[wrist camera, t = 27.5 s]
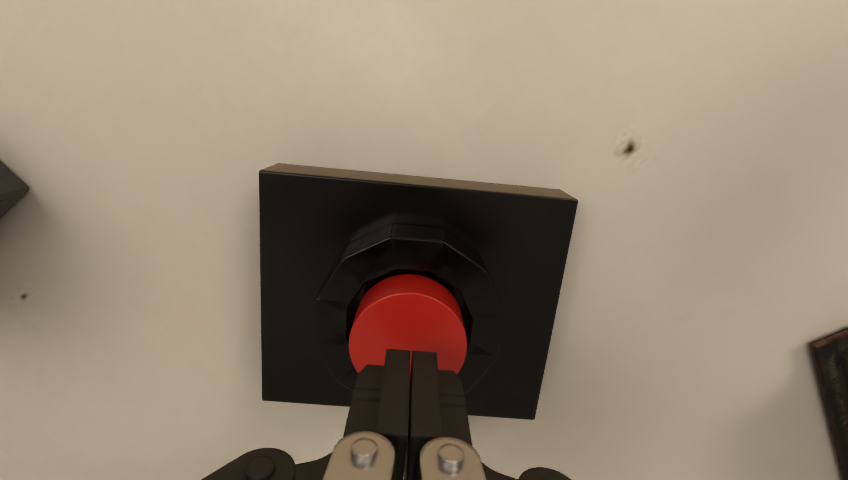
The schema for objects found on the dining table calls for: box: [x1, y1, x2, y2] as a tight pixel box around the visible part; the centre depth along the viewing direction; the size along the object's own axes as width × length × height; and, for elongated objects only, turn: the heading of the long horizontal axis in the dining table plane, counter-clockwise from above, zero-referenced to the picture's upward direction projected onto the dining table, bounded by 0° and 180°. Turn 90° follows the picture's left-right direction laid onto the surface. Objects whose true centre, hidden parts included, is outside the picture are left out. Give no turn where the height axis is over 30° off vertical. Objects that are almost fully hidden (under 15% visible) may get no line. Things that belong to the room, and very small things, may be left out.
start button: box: [349, 274, 467, 375], centre depth 16 cm, size 4×4×2 cm
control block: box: [259, 163, 578, 420], centre depth 18 cm, size 12×10×4 cm
